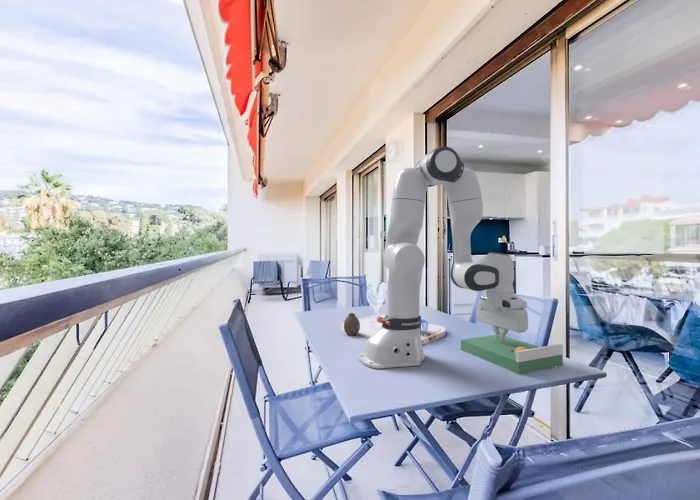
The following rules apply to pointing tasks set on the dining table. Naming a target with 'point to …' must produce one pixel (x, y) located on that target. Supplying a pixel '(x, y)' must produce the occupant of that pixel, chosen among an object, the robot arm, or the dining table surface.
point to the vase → (351, 324)
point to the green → (506, 357)
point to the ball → (520, 348)
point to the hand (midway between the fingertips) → (500, 339)
